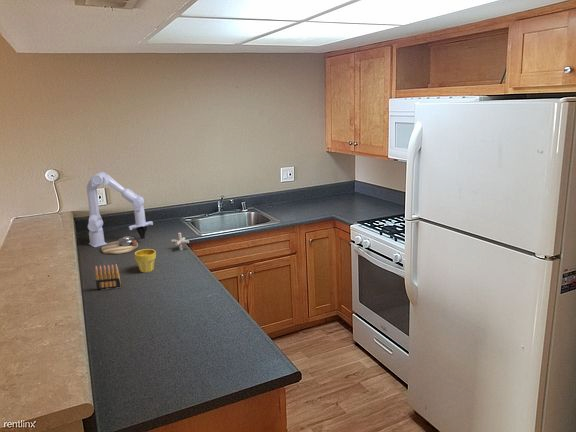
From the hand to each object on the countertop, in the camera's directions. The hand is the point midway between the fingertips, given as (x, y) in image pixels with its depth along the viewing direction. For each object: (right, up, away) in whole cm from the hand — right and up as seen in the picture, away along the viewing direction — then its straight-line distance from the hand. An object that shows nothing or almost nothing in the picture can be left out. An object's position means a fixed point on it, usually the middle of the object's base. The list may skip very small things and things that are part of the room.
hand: (142, 238), depth 274 cm
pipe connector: (+26, -6, -13) cm, 30 cm away
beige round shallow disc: (-10, -5, -9) cm, 15 cm away
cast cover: (-7, -3, -6) cm, 10 cm away
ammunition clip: (+4, -21, -61) cm, 65 cm away
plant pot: (+15, -14, -41) cm, 46 cm away
